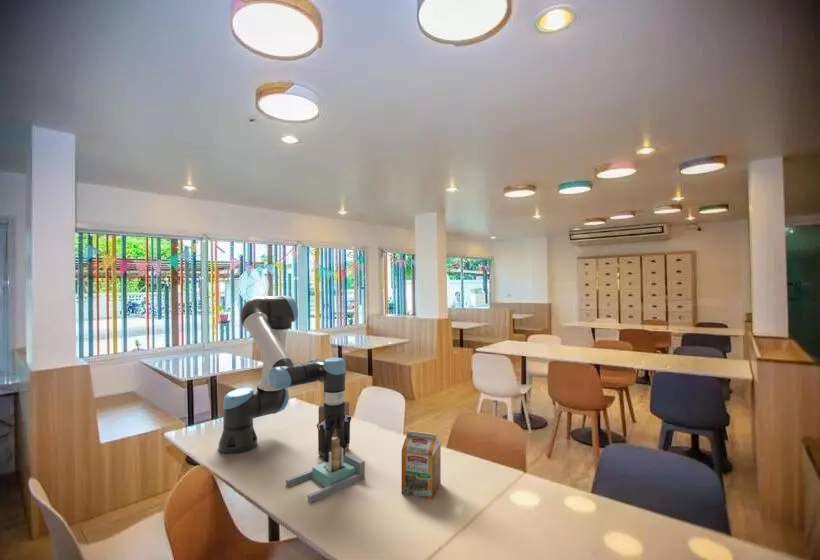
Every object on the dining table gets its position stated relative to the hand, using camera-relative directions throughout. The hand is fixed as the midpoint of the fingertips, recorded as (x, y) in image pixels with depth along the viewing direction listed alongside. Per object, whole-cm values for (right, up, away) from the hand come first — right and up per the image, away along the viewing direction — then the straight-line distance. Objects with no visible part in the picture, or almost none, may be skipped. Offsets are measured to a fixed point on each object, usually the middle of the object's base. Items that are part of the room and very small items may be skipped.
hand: (334, 467), depth 141 cm
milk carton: (+31, -4, -7) cm, 32 cm away
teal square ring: (0, -4, 0) cm, 4 cm away
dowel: (0, -4, 0) cm, 4 cm away
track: (-2, -4, -2) cm, 5 cm away
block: (-4, -4, +22) cm, 22 cm away
